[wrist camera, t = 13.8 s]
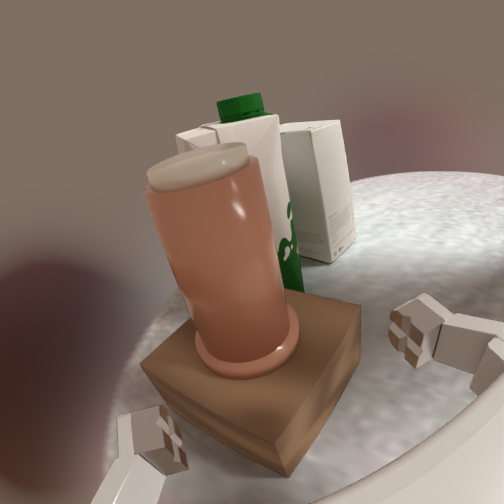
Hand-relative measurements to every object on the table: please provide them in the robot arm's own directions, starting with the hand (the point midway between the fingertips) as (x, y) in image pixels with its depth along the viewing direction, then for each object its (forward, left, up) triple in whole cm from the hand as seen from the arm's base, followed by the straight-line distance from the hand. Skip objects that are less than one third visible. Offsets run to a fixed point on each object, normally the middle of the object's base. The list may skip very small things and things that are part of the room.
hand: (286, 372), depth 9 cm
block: (-5, -7, -12) cm, 15 cm away
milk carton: (-16, -15, -12) cm, 25 cm away
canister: (-5, -7, -6) cm, 11 cm away
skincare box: (-26, -13, -12) cm, 32 cm away
